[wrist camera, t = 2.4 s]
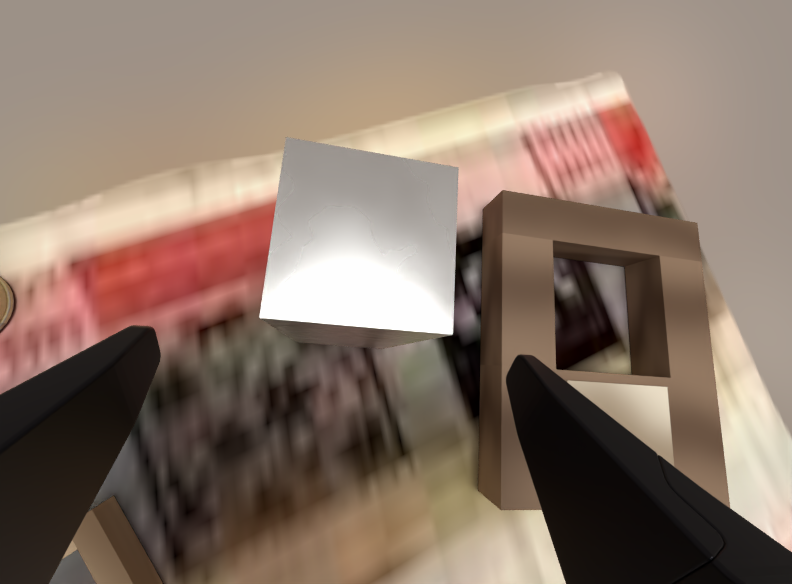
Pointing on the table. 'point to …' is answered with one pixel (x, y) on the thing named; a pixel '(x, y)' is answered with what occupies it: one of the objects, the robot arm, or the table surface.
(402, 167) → the steel peg
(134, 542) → the wooden frame
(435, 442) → the table surface
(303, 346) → the table surface
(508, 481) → the hole board
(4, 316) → the tan tall container
